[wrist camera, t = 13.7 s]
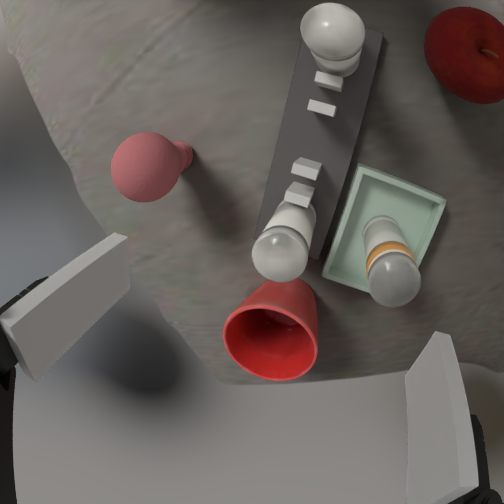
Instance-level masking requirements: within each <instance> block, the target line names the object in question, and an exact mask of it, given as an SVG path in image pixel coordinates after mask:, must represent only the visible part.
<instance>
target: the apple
mask: <svg viewBox="0 0 504 504" xmlns="http://www.w3.org/2000/svg"><path fill="white" fill-rule="evenodd" d="M424 50H425V57H426V60H427V63H428V65H429V67H430V69H431V71H432V73H433V74H434V75H435V77H436V78H437V79H438V80H439V82H440V83H441V84H442V85H443V86H444V87H446V88H447V89H448V90H449V91H451V92H452V93H454V94H455V95H457V96H458V97H460V98H462V99H465V100H467V101H470V102H474V103H478V104H489V103H494V102H498V101H500V100H502V99H504V26H503V24H502V23H501V22H499V21H498V20H497V19H496V18H495V17H493V16H492V15H490V14H488V13H486V12H484V11H482V10H479V9H476V8H471V7H457V8H451V9H448V10H445V11H443V12H441V13H440V14H439V15H438V16H437V17H435V18H434V19H433V20H432V22H431V23H430V25H429V27H428V29H427V32H426V35H425V43H424Z"/></svg>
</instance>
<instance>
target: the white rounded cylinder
mask: <svg viewBox="0 0 504 504" xmlns="http://www.w3.org/2000/svg"><path fill="white" fill-rule="evenodd" d="M300 30H301V35H302V38H303V40H304V42H305V43H306V45H307V47H308V48H309V49H310V51H311V53H312V55H313V56H314V58H315V61H316V63H317V65H318V67H319V68H320V70H321V71H322V72H323V73H327V74H331V75H334V76H338V77H342V78H345V77H348V76H350V75H352V74H353V73H354V72H355V71H356V70H357V68H358V66H359V61H360V54H361V50H362V46H363V43H364V39H365V27H364V24H363V22H362V20H361V18H360V17H359V16H358V14H357V13H356V12H354V11H353V10H352V9H350V8H349V7H347V6H344V5H341V4H338V3H322V4H319V5H316V6H314V7H312V8H311V9H310V10H308V11H307V12H306V14H305V15H304V17H303V19H302V21H301V27H300Z"/></svg>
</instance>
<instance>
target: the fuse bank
mask: <svg viewBox="0 0 504 504" xmlns="http://www.w3.org/2000/svg"><path fill="white" fill-rule="evenodd" d="M382 38H383V33H382V32H379V31H376V30H372V29H369V28H366V27H365V39H364V43H363V46H362V50H361V54H360V61H359V66H358V68H357V70H356V71H355V72H354V73H353V74H352V75H350V76H348V77H345V78H342V77H338V76H334V75H331V74H327V73H323V72H322V71H321V70H320V68H319V67H318V65H317V63H316V61H315V58H314V56H313V55H312V53H311V51H310V49H309V48H308V47H307V45H306V43H305V42H304V40H303V38H302V42H301V46H300V50H299V54H298V58H297V63H296V67H295V71H294V75H293V79H292V83H291V87H290V91H289V95H288V100H287V104H286V108H285V112H284V116H283V120H282V124H281V128H280V132H279V137H278V141H277V145H276V149H275V153H274V157H273V161H272V165H271V170H270V174H269V178H268V182H267V186H266V190H265V194H264V198H263V203H262V207H261V211H260V215H259V219H258V223H257V227H256V232H255V236H254V239H256V240H257V239H258V237H259V236H260V235H261V233H262V232H263V231H264V229H265V227H266V226H267V224H268V223H269V221H270V219H271V218H272V216H273V214H274V213H275V211H276V209H277V207H278V206H279V204H280V203H281V202H282V200H284V201H288V202H291V203H294V204H297V205H300V206H303V207H307V208H308V206H309V203H310V202H311V203H312V204H313V205H314V207H315V209H316V214H317V218H316V223H315V226H314V230H313V235H312V240H311V244H310V249H309V256H308V257H310V258H313V259H315V260H318V259H319V256H320V253H321V250H322V247H323V245H324V242H325V239H326V236H327V233H328V230H329V227H330V224H331V221H332V218H333V215H334V212H335V209H336V206H337V203H338V200H339V197H340V194H341V191H342V187H343V184H344V181H345V178H346V175H347V171H348V168H349V165H350V161H351V158H352V155H353V151H354V148H355V144H356V141H357V137H358V134H359V130H360V127H361V123H362V119H363V116H364V112H365V108H366V105H367V101H368V97H369V93H370V89H371V85H372V81H373V77H374V73H375V69H376V65H377V60H378V56H379V52H380V47H381V43H382Z"/></svg>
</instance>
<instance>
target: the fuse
mask: <svg viewBox="0 0 504 504" xmlns="http://www.w3.org/2000/svg"><path fill="white" fill-rule="evenodd" d="M316 218H317V214H316V209H315V207H314V205H313V204H312V203H311V202H310V203H309V206H308V208H307V207H303V206H300V205H297V204H294V203H291V202H288V201H284V200H282V202H281V203H280V204H279V206H278V207H277V209H276V211H275V213H274V214H273V216H272V218H271V219H270V221H269V223H268V224H267V226H266V227H265V229H264V231H263V232H262V233H261V235H260V236H259V237H258V239H257V241H256V242H255V244H254V246H253V249H252V261H253V264H254V266H255V268H256V270H257V271H258V272H259V273H260V274H261V275H262V276H263V277H265V278H266V279H268V280H271V281H274V282H280V283H284V282H290V281H293V280H295V279H296V278H298V277H299V276H300V275H301V274H302V273H303V272H304V270H305V268H306V265H307V261H308V256H309V249H310V244H311V240H312V235H313V230H314V226H315V223H316Z"/></svg>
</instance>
